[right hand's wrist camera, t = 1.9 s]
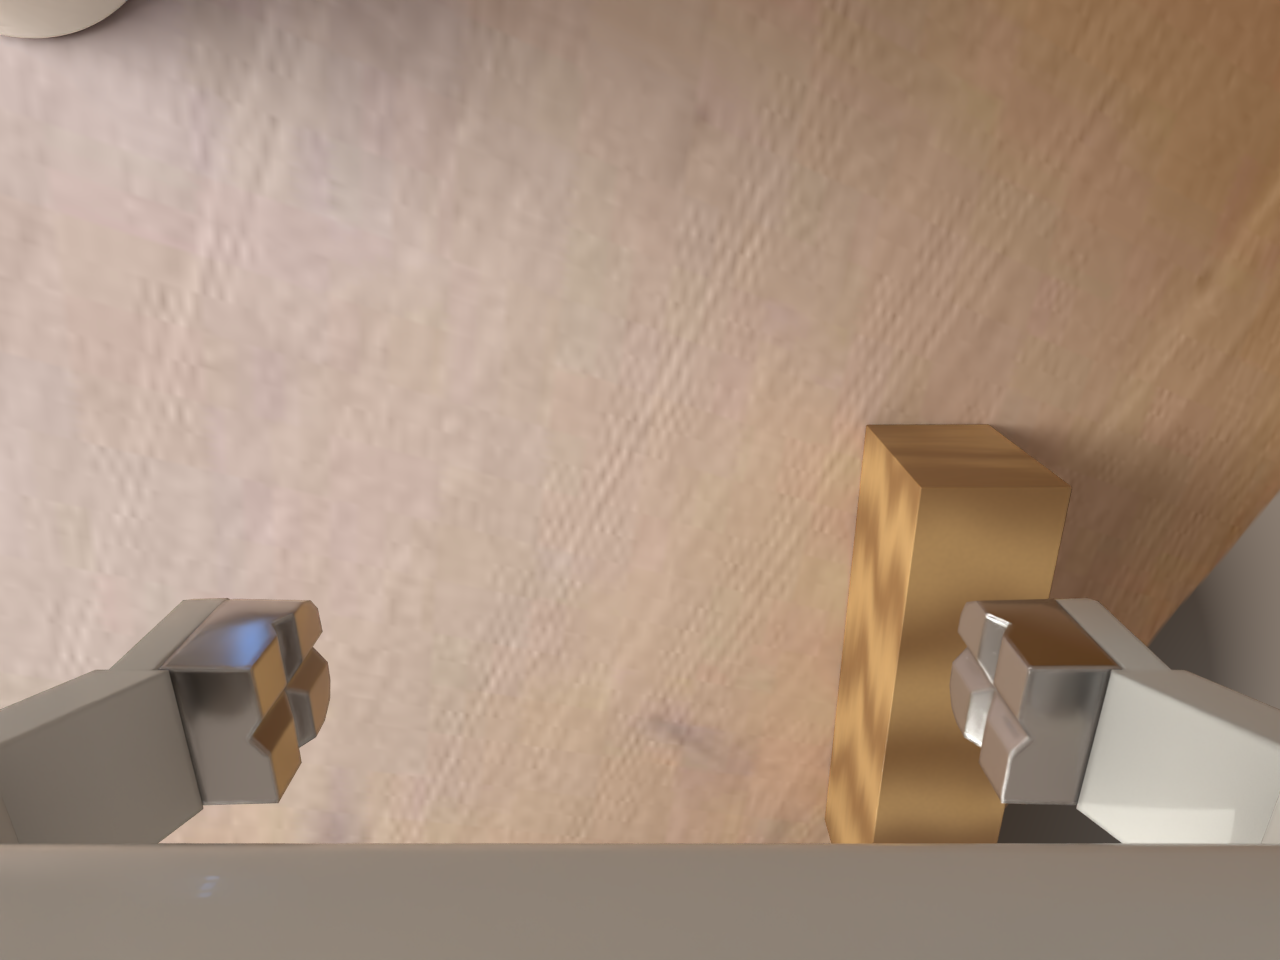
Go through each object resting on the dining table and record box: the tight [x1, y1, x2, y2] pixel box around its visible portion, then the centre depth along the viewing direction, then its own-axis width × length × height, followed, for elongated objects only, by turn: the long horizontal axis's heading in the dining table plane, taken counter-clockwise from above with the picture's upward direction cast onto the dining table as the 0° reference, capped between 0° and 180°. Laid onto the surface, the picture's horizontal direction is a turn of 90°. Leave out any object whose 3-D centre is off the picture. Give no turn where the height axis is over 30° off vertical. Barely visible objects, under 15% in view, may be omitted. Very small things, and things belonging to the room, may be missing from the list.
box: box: [825, 424, 1072, 843], centre depth 41 cm, size 26×6×8 cm, turn 0°
